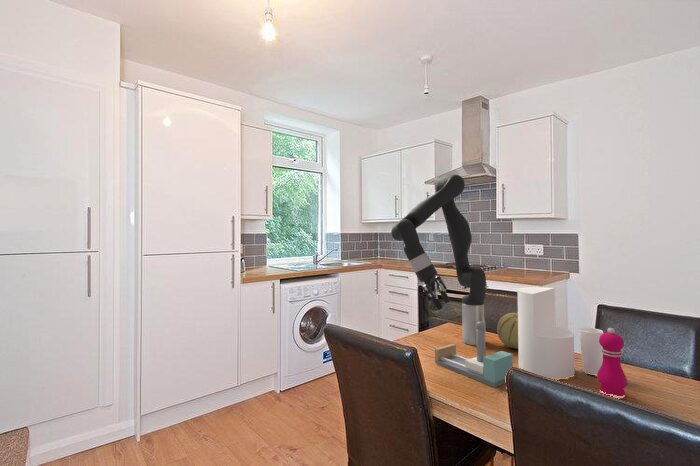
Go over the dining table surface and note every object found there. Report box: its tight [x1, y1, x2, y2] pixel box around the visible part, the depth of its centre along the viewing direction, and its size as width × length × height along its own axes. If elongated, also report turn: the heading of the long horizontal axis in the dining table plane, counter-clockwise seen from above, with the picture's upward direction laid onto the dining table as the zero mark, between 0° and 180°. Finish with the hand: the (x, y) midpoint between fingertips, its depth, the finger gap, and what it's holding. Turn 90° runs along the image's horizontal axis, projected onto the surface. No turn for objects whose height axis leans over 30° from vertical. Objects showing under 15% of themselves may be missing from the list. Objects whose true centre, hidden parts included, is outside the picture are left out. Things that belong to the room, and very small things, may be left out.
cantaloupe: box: [496, 312, 518, 350], centre depth 146 cm, size 15×15×15 cm
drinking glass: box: [579, 327, 604, 374], centre depth 119 cm, size 7×7×15 cm
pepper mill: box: [596, 327, 628, 400], centre depth 104 cm, size 7×7×20 cm
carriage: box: [465, 321, 487, 373], centre depth 120 cm, size 8×7×16 cm
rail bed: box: [434, 343, 514, 388], centre depth 123 cm, size 10×25×8 cm, turn 33°
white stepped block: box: [517, 286, 576, 381], centre depth 123 cm, size 17×17×28 cm
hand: (444, 305), depth 131 cm, fingers open, 8 cm apart
